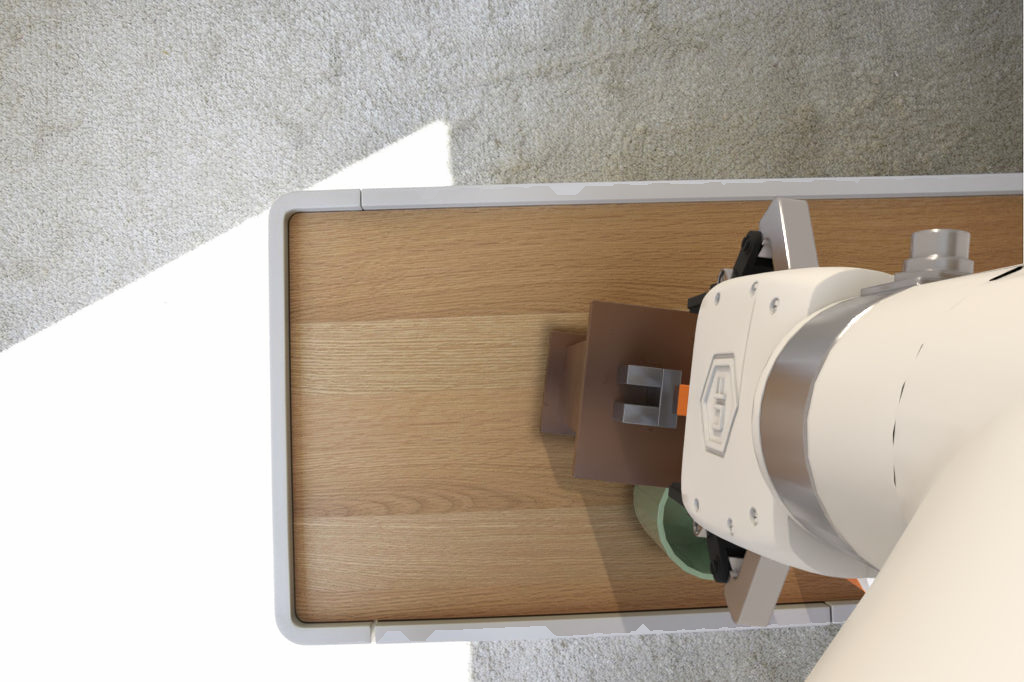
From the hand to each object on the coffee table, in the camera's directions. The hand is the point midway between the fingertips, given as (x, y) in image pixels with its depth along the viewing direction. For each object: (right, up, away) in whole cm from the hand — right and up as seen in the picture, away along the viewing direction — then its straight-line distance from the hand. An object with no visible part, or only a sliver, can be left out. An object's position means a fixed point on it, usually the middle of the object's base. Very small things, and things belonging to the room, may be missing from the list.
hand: (706, 399), depth 35 cm
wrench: (-1, 0, +2) cm, 3 cm away
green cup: (+7, -13, +31) cm, 34 cm away
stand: (-2, -2, +31) cm, 31 cm away
